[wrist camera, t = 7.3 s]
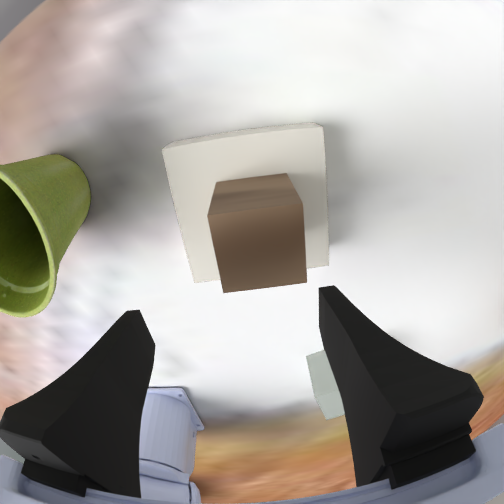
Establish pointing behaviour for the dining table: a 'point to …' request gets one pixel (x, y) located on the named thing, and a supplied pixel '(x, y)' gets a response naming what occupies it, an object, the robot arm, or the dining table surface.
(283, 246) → the walnut block
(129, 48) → the dining table surface
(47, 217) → the plant pot
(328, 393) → the grey cube
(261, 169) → the cream block
